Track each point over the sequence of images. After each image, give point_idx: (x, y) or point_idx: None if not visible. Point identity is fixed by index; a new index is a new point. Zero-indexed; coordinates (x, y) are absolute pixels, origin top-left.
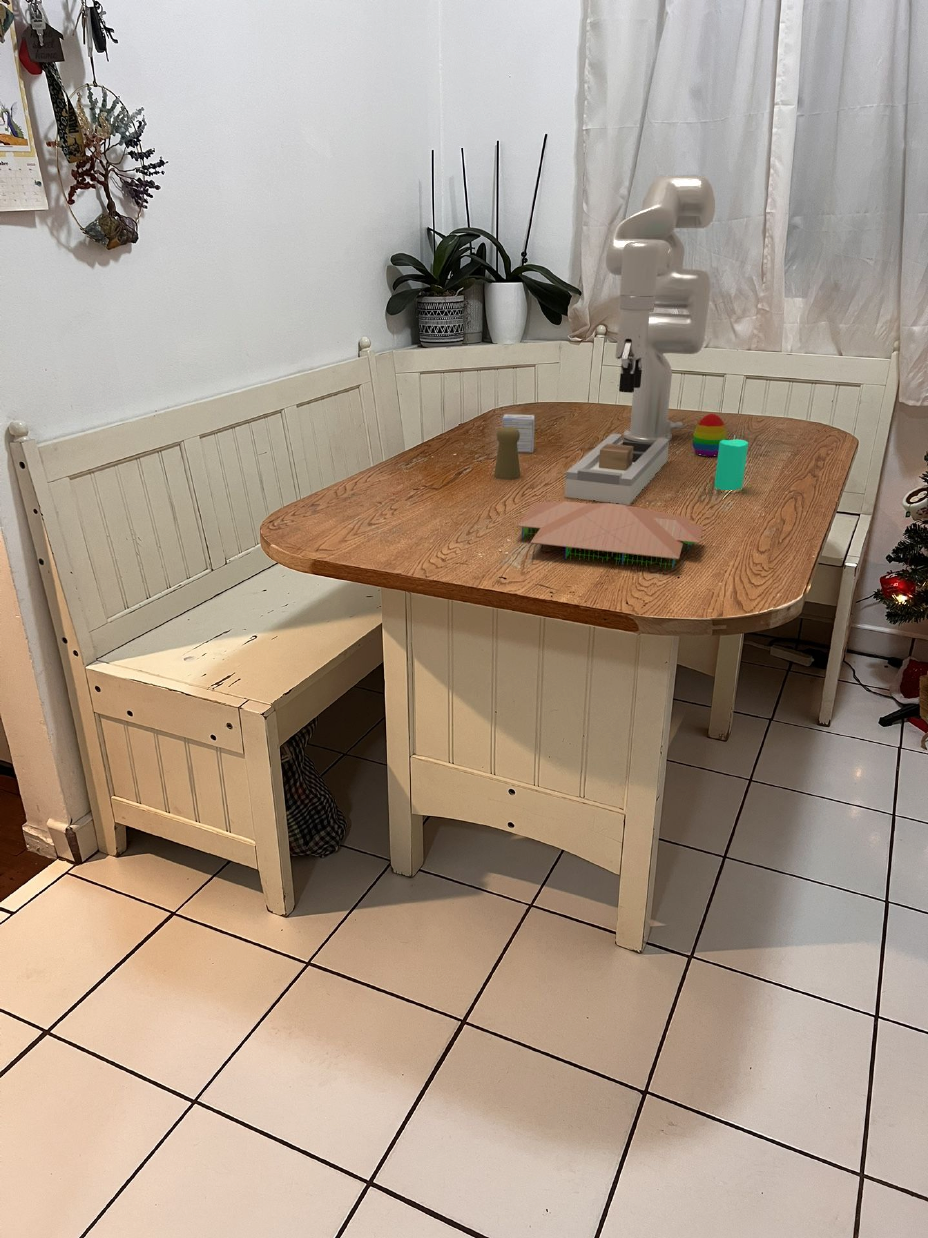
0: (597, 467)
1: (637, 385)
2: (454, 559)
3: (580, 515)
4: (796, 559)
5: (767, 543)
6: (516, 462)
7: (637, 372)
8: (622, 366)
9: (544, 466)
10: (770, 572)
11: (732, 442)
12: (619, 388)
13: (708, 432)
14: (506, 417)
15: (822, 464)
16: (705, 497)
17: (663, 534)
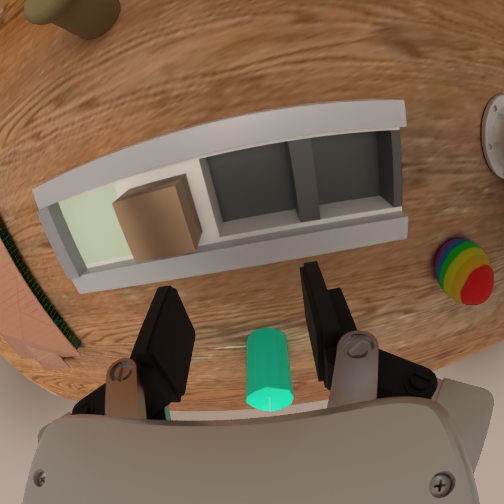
0: (127, 186)
1: (306, 317)
2: None
3: None
4: None
5: None
6: (77, 30)
7: (316, 364)
8: (79, 405)
9: (199, 16)
10: (79, 391)
11: (280, 394)
12: (156, 294)
13: (452, 286)
14: None
15: (424, 364)
16: (206, 333)
17: (23, 351)
